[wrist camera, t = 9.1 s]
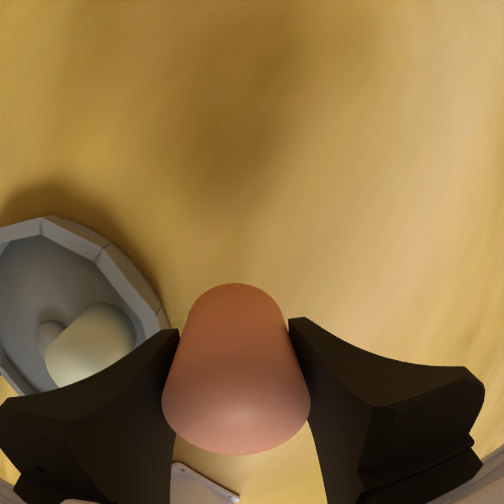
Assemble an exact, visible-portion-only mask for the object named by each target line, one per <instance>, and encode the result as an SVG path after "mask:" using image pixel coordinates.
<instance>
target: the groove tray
mask: <svg viewBox="0 0 504 504" xmlns="http://www.w3.org/2000/svg"><path fill="white" fill-rule="evenodd" d="M95 303H108V304H112V305H114V306H116V307H118V308H119V309H121V310H122V311H123V312H124V313H125V314H126V315H127V316H128V317H129V318H130V319H131V321H132V323H133V325H134V327H135V330H136V334H137V341H136V345H135V347H134V349H135V348H137V347H138V346H139V345H141V344H142V343H143V342H145V341H146V340H147V339H149V338H150V337H151V336H153V335H154V334H156V333H157V332H159V331H160V330H162V329H171V326H170V322H169V319H168V316H167V314H166V312H165V309H164V307H163V305H162V302H161V300H160V299H159V297H158V295H157V293H156V292H155V290H154V288H153V286H152V285H151V283H150V282H149V281H148V279H147V278H146V276H145V275H144V274H143V272H142V271H141V269H140V268H139V267H138V266H137V265H136V264H135V263H134V262H133V260H132V259H131V258H130V257H129V256H128V255H127V254H126V253H125V252H124V251H123V250H122V249H121V248H119V247H118V246H117V245H116V244H115V243H114V242H112V241H111V240H110V239H108V238H107V237H106V236H104V235H103V234H101V233H100V232H98V231H96V230H94V229H93V228H91V227H89V226H87V225H85V224H82V223H79V222H77V221H74V220H71V219H66V218H62V217H56V216H54V215H47V216H43V217H39V218H35V219H31V220H27V221H23V222H19V223H15V224H12V225H8V226H5V227H1V228H0V373H1V374H2V376H3V377H4V378H5V379H6V381H7V382H8V383H9V384H10V385H11V386H12V388H13V389H14V390H15V391H16V392H17V393H18V394H19V396H25V395H32V394H37V393H42V392H46V391H50V390H54V389H57V388H59V387H58V385H57V384H56V383H55V382H54V381H53V379H52V378H51V376H50V374H49V372H48V370H47V367H46V363H45V352H46V349H47V347H48V346H49V345H50V344H51V343H52V342H53V341H54V340H55V339H56V338H57V337H58V336H59V335H60V334H61V333H62V332H63V331H64V330H65V329H66V328H67V327H68V326H69V325H70V324H71V323H72V322H73V321H74V320H76V319H77V318H78V317H79V316H80V315H81V314H82V313H83V312H84V311H85V310H86V309H87V308H88V307H89V306H91V305H93V304H95ZM134 349H133V350H134Z"/></svg>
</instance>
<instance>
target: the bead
mask: <svg viewBox="0 0 504 504" xmlns="http://www.w3.org/2000/svg"><path fill="white" fill-rule="evenodd" d="M161 403H162V410H163V413H164V416H165V418H166V420H167V422H168V424H169V425H170V427H171V428H172V429H173V430H174V431H175V432H176V433H177V434H178V435H179V436H180V437H181V438H183V439H184V440H186V441H187V442H189V443H191V444H192V445H194V446H196V447H199V448H201V449H204V450H207V451H210V452H214V453H219V454H226V455H247V454H255V453H259V452H263V451H267V450H270V449H272V448H275V447H277V446H279V445H281V444H283V443H285V442H286V441H288V440H289V439H290V438H292V437H293V436H294V435H295V434H296V433H297V432H298V431H299V430H300V429H301V428H302V426H303V425H304V423H305V422H306V420H307V418H308V415H309V411H310V404H311V402H310V395H309V392H308V388H307V385H306V382H305V380H304V377H303V374H302V371H301V368H300V365H299V362H298V359H297V356H296V353H295V350H294V347H293V344H292V342H291V339H290V336H289V333H288V330H287V327H286V324H285V321H284V318H283V315H282V313H281V310H280V308H279V306H278V305H277V303H276V302H275V301H274V300H273V299H272V298H271V297H270V296H269V295H268V294H267V293H265V292H264V291H262V290H260V289H258V288H256V287H253V286H250V285H246V284H238V283H232V284H224V285H220V286H217V287H214V288H212V289H210V290H208V291H207V292H205V293H204V294H202V295H201V296H200V297H199V298H198V299H197V300H196V301H195V303H194V304H193V306H192V308H191V310H190V312H189V315H188V318H187V321H186V324H185V327H184V329H183V332H182V335H181V338H180V341H179V344H178V347H177V350H176V353H175V356H174V359H173V362H172V365H171V368H170V371H169V375H168V378H167V381H166V384H165V387H164V390H163V394H162V402H161Z"/></svg>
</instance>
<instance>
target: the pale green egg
mask: <svg viewBox="0 0 504 504" xmlns="http://www.w3.org/2000/svg"><path fill="white" fill-rule="evenodd" d="M136 341H137V334H136V330H135V327H134V325H133V323H132V321H131V319H130V318H129V317H128V316H127V315H126V314H125V313H124V312H123V311H122V310H121V309H119V308H118V307H116V306H114V305H112V304H108V303H95V304H93V305H91V306H89V307H88V308H87V309H86V310H85V311H84V312H83V313H82V314H81V315H80V316H79V317H78V318H77V319H76V320H74V321H73V322H72V323H71V324H70V325H69V326H68V327H67V328H66V329H65V330H64V331H63V332H62V333H61V334H60V335H59V336H58V337H57V338H56V339H55V340H54V341H53V342H52V343H51V344H50V345H49V346H48V347H47V349H46V352H45V363H46V367H47V370H48V372H49V374H50V376H51V378H52V379H53V381H54V382H55V383H56V384H57V385H58V387H59V388H61V387H64V386H67V385H70V384H72V383H75V382H77V381H80V380H82V379H85V378H87V377H89V376H91V375H93V374H95V373H97V372H99V371H101V370H103V369H105V368H107V367H108V366H110V365H112V364H113V363H115V362H116V361H118V360H119V359H121V358H122V357H124V356H125V355H127V354H128V353H130V352H131V351H133V349H134V347H135V345H136Z"/></svg>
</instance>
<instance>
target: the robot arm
mask: <svg viewBox="0 0 504 504" xmlns="http://www.w3.org/2000/svg"><path fill="white" fill-rule="evenodd" d="M288 327H289V336H290V339H291V342H292V344H293V347H294V350H295V353H296V356H297V359H298V362H299V365H300V368H301V371H302V374H303V377H304V380H305V382H306V385H307V388H308V392H309V395H310V402H311V404H310V411H309V415H308V418H307V421H308V423H309V426H310V429H311V432H312V435H313V438H314V442H315V446H316V450H317V455H318V459H319V463H320V468H321V472H322V477H323V482H324V487H325V492H326V497H327V502H328V504H504V444H503V445H502V446H500V447H499V448H497V449H496V450H494V451H493V452H492V453H490V454H489V455H487V456H485V457H484V458H482V459H481V460H480V459H479V458H478V456H477V455H476V454H475V452H474V451H473V450H472V448H471V447H472V446H473V445H474V440H473V438H472V437H471V436H470V435H469V432H470V430H471V428H472V426H473V425H474V423H475V421H476V419H477V417H478V414H479V412H480V410H481V408H482V405H483V402H484V397H485V388H484V385H483V383H482V382H481V381H480V380H479V379H477V378H476V377H475V376H474V375H473V374H472V373H471V372H470V371H469V370H468V369H467V368H466V367H464V366H429V365H420V364H413V363H407V362H402V361H398V360H394V359H389V358H386V357H382V356H379V355H376V354H373V353H371V352H368V351H365V350H363V349H360V348H358V347H356V346H354V345H351V344H349V343H347V342H345V341H343V340H342V339H340V338H338V337H336V336H334V335H333V334H331V333H329V332H328V331H326V330H325V329H323V328H321V327H320V326H318V325H317V324H315V323H314V322H312V321H311V320H309V319H308V318H306V317H299V318H291V319H288ZM179 341H180V336H179V331H178V328H177V329H162V330H160V331H159V332H157V333H156V334H154V335H153V336H151V337H150V338H149V339H147V340H146V341H145V342H143V343H142V344H141V345H139V346H138V347H137V348H135V349H134V350H133V351H131V352H130V353H128V354H127V355H125V356H124V357H122V358H121V359H119V360H118V361H116V362H115V363H113V364H112V365H110V366H108V367H107V368H105V369H103V370H101V371H99V372H97V373H95V374H93V375H91V376H89V377H87V378H85V379H82V380H80V381H77V382H75V383H72V384H70V385H67V386H64V387H61V388H57V389H54V390H50V391H46V392H42V393H37V394H32V395H25V396H18V397H9V398H7V399H6V400H5V401H4V403H3V404H2V405H1V406H0V448H1V450H2V451H3V452H4V453H5V455H6V456H7V457H8V459H9V460H10V461H11V462H12V463H13V465H14V466H15V467H16V468H17V469H18V471H19V472H20V473H21V475H20V477H19V479H18V481H17V482H16V484H15V486H14V485H12V484H10V483H8V482H7V481H5V480H3V479H1V478H0V504H234V502H238V501H240V497H239V496H237V495H235V494H233V493H231V492H230V491H228V490H226V489H224V488H222V487H220V486H218V485H217V484H215V483H213V482H211V481H210V480H208V479H206V478H205V477H203V476H201V475H200V474H198V473H196V472H195V471H193V470H192V469H190V468H188V467H187V466H185V465H184V464H182V463H174V464H172V457H173V447H174V442H175V437H176V432H175V431H174V430H173V429H172V428H171V427H170V425H169V424H168V422H167V420H166V418H165V416H164V413H163V410H162V403H161V402H162V394H163V390H164V387H165V384H166V381H167V378H168V375H169V371H170V368H171V365H172V362H173V359H174V356H175V353H176V350H177V347H178V344H179Z"/></svg>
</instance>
